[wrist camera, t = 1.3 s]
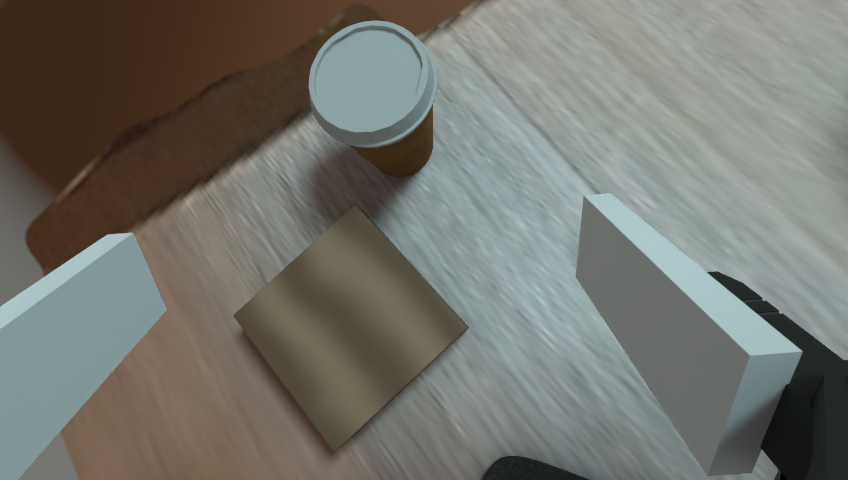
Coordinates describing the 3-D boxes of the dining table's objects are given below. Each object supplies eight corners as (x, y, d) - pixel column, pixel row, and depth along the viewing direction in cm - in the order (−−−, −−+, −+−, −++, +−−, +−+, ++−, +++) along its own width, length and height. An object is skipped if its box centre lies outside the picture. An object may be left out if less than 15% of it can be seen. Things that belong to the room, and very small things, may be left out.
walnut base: (367, 215, 40) (354, 204, 36) (469, 327, 37) (467, 328, 33) (257, 316, 40) (233, 315, 36) (350, 438, 36) (334, 452, 32)
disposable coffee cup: (406, 212, 39) (372, 166, 28) (334, 154, 42) (276, 89, 30) (470, 136, 40) (464, 59, 28) (396, 83, 42) (362, -8, 31)
